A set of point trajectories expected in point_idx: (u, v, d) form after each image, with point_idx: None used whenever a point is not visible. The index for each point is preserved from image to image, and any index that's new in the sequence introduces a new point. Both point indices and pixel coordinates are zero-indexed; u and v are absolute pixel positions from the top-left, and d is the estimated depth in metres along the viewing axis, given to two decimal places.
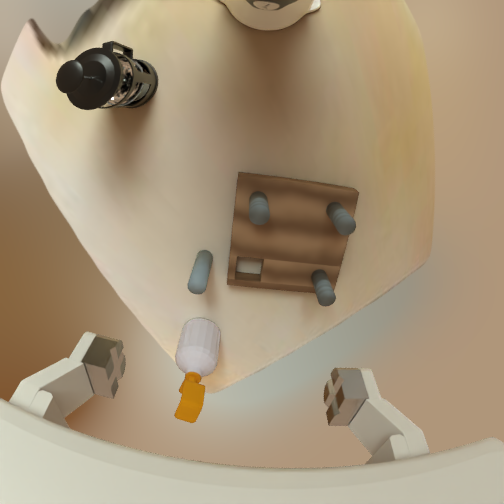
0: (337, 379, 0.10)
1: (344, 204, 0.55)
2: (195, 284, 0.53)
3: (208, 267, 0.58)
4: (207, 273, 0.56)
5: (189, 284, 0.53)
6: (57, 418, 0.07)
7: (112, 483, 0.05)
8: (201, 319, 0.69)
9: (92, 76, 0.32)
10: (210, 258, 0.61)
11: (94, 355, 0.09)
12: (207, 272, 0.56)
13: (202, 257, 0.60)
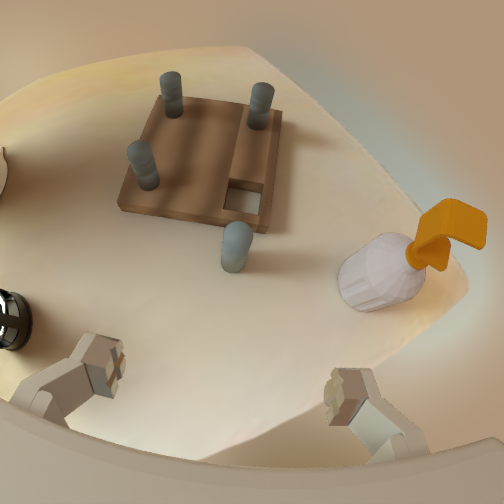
0: (337, 379, 0.10)
1: None
2: (234, 236, 0.34)
3: None
4: None
5: (234, 245, 0.33)
6: (57, 418, 0.07)
7: (112, 483, 0.05)
8: (338, 277, 0.44)
9: None
10: None
11: (94, 355, 0.09)
12: None
13: None
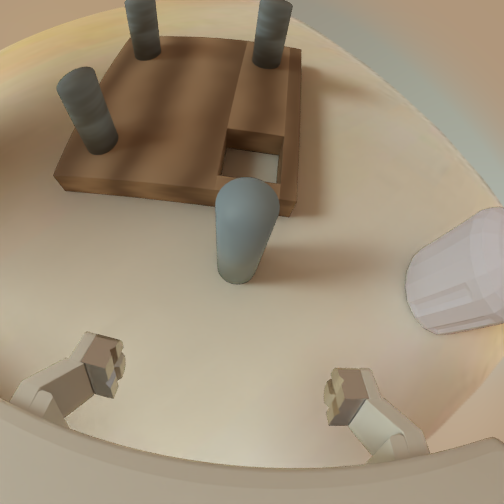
0: (337, 379, 0.10)
1: None
2: (239, 207, 0.15)
3: None
4: None
5: (240, 226, 0.15)
6: (57, 418, 0.07)
7: (112, 483, 0.05)
8: (407, 284, 0.26)
9: None
10: None
11: (94, 355, 0.09)
12: None
13: None
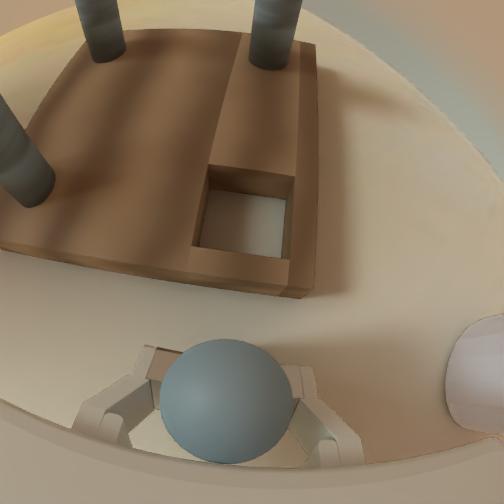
0: None
1: None
2: (208, 411, 0.07)
3: None
4: None
5: (212, 449, 0.06)
6: (125, 440, 0.07)
7: (112, 483, 0.05)
8: (449, 379, 0.17)
9: None
10: None
11: (159, 370, 0.09)
12: None
13: None
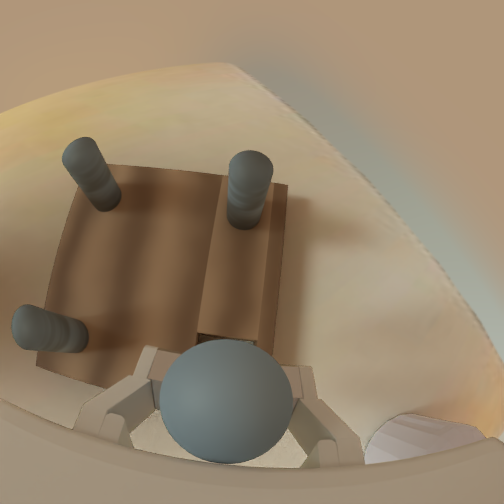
0: None
1: None
2: (208, 411, 0.07)
3: None
4: None
5: (212, 448, 0.06)
6: (126, 440, 0.07)
7: (112, 483, 0.05)
8: (366, 456, 0.25)
9: None
10: None
11: (160, 370, 0.09)
12: None
13: None
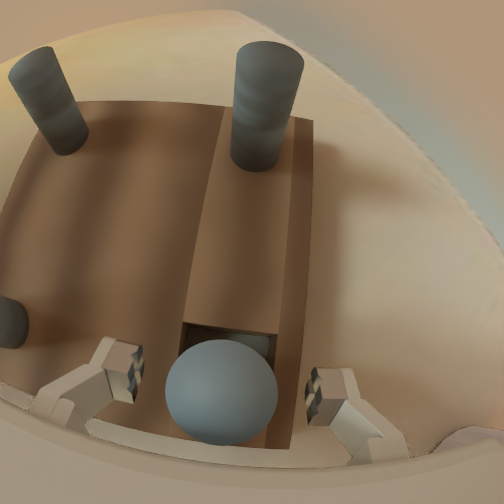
0: (316, 378, 0.10)
1: None
2: (206, 400, 0.08)
3: None
4: None
5: (209, 432, 0.08)
6: (78, 426, 0.07)
7: (112, 483, 0.05)
8: None
9: None
10: None
11: (115, 360, 0.09)
12: None
13: None
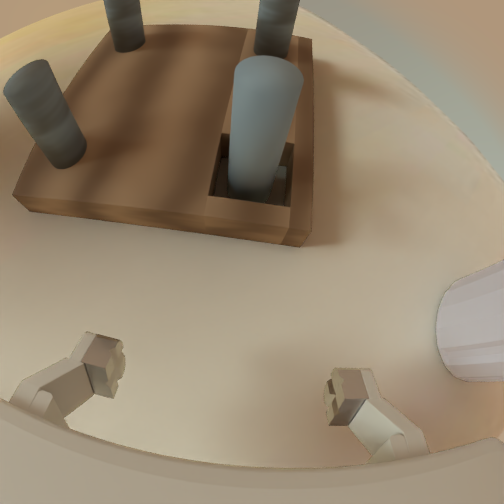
0: (337, 379, 0.10)
1: None
2: (260, 75, 0.13)
3: None
4: None
5: (262, 89, 0.12)
6: (57, 418, 0.07)
7: (112, 483, 0.05)
8: (439, 327, 0.20)
9: None
10: None
11: (94, 355, 0.09)
12: None
13: (228, 165, 0.20)
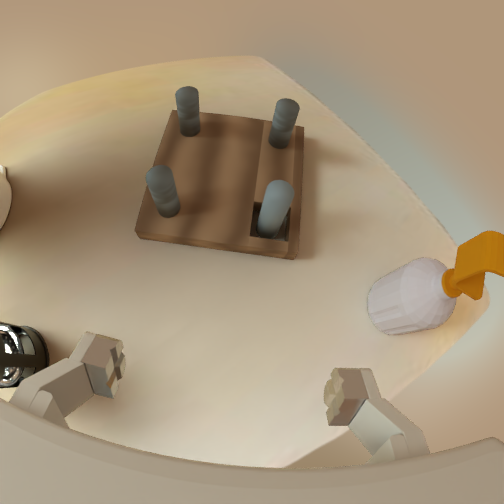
0: (337, 379, 0.10)
1: None
2: (276, 193, 0.34)
3: None
4: None
5: (277, 201, 0.34)
6: (57, 418, 0.07)
7: (112, 483, 0.05)
8: (368, 302, 0.42)
9: None
10: None
11: (94, 355, 0.09)
12: None
13: (258, 220, 0.42)
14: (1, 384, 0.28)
